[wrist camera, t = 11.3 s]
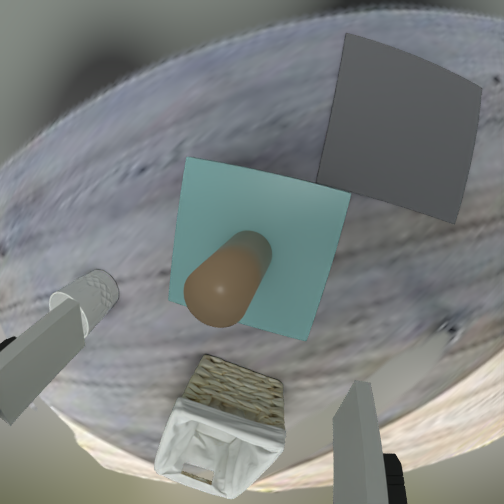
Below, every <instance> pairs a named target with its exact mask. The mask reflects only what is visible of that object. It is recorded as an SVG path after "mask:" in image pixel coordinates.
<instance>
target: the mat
mask: <svg viewBox="0 0 504 504" xmlns="http://www.w3.org/2000/svg"><path fill="white" fill-rule="evenodd" d="M481 95H482V88H481V87H479V86H478V85H476V84H474V83H472V82H470V81H469V80H467V79H465V78H463V77H461V76H459V75H457V74H455V73H453V72H451V71H449V70H447V69H445V68H442V67H440V66H438V65H436V64H434V63H431V62H429V61H427V60H424V59H422V58H420V57H417V56H415V55H412V54H410V53H407V52H405V51H402V50H399V49H396V48H394V47H391V46H388V45H385V44H382V43H379V42H376V41H373V40H369V39H366V38H363V37H359V36H356V35H352V34H349V33H346V36H345V42H344V48H343V53H342V59H341V65H340V70H339V75H338V81H337V86H336V91H335V96H334V101H333V106H332V111H331V116H330V121H329V126H328V130H327V135H326V140H325V144H324V149H323V153H322V158H321V162H320V167H319V171H318V175H317V180H316V183H320V184H324V185H327V186H331V187H335V188H339V189H343V190H346V191H350V192H354V193H357V194H361V195H364V196H368V197H371V198H375V199H378V200H382V201H385V202H388V203H392V204H395V205H398V206H401V207H404V208H408V209H411V210H414V211H417V212H420V213H423V214H426V215H429V216H432V217H435V218H438V219H441V220H443V221H446V222H449V223H452V224H455V222H456V218H457V215H458V212H459V208H460V205H461V201H462V198H463V194H464V190H465V186H466V182H467V178H468V174H469V169H470V165H471V160H472V155H473V150H474V145H475V139H476V133H477V127H478V120H479V113H480V104H481Z"/></svg>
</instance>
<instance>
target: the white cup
mask: <svg viewBox="0 0 504 504" xmlns="http://www.w3.org/2000/svg"><path fill="white" fill-rule="evenodd" d="M118 296H119V290H118V287H117V284H116V282H115V281H114V279H113V278H112V277H111V276H110V275H109V274H108V273H106V272H105V271H103V270H97V269H96V270H94V271H92V272H90V273H88V274H86V275H83V276H81V277H80V278H78V279H76V280H75V281H73V282H71V283H69V284H68V285H66V286H64V287H63V288H61V289H60V290H58V291H56V292H55V293H53V294H52V295H51V297H50V300H49V308H50V311H52V310H53V309H54V308H55V307H57V306H58V305H59V304H61V303H62V302H63V301H65V300H66V299H67V298H70V299H73V300H75V301H77V302H80V310H81V318H82V326H83V333H84V338H86V336H87V335H88V334H89V333H90V332H91V331H92V330H93V329H94V328H95V326H96V325H97V324H98V323H99V322H100V321H101V320H102V319H103V317H104V316H105V315H106V314H107V313H108V312H109V311H110V309H111V308H112V307H113V306H114V305H115V303H116V302H117V300H118Z"/></svg>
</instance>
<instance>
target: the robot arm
mask: <svg viewBox="0 0 504 504" xmlns="http://www.w3.org/2000/svg"><path fill="white" fill-rule="evenodd" d="M84 346H85V339H84V333H83V326H82V318H81V310H80V302H77V301H75V300H73V299H70V298H67V299H66V300H65V301H63V302H62V303H61V304H59V305H58V306H57V307H55V308H54V309H53V310H52V311H50V312H49V313H48V314H46V315H45V316H44V317H43V318H41V319H40V320H39V321H37V322H36V323H35V324H34V325H32V326H31V327H30V328H29V329H27V330H26V331H25V332H24V333H22V334H21V335H20V336H19V337H18V338H16V337H15V336H14V337H11V338H9V339H6V340H4V341H3V342H2V343H1V344H0V418H2V419H3V420H4V421H5V422H6V423H8V424H9V425H10V426H11V425H12V424H13V422H15V420H16V419H17V418H18V417H19V416H20V415H21V414H22V412H23V411H24V410H25V409H26V408H27V407H28V406H29V405H30V404H31V402H32V401H33V400H34V399H35V398H36V397H37V396H38V395H39V394H40V393H41V392H42V390H43V389H44V388H45V387H46V386H47V385H48V384H49V383H50V382H51V381H52V380H53V379H54V378H55V377H56V375H57V374H58V373H59V372H60V371H61V370H62V369H63V368H64V367H65V366H66V365H67V364H68V363H69V362H70V361H71V360H72V359H73V358H74V357H75V356H76V355H77V354H78V353H79V352H80V351H81V349H82V348H83V347H84ZM333 450H334V489H333V504H407V498H406V491H405V486H404V477H403V471H402V465H401V462H400V461H399V459H398V458H397V456H396V454H384V453H383V452H382V445H381V438H380V432H379V426H378V420H377V414H376V409H375V403H374V398H373V393H372V388H371V383H369V382H362V381H356V380H355V381H354V383H353V385H352V387H351V388H350V390H349V392H348V394H347V395H346V397H345V399H344V401H343V402H342V404H341V406H340V407H339V409H338V411H337V412H336V414H335V416H334V417H333Z"/></svg>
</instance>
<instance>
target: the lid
mask: <svg viewBox="0 0 504 504" xmlns="http://www.w3.org/2000/svg"><path fill="white" fill-rule="evenodd" d="M350 197H351V193H350V192H346V191H343V190H339V189H336V188H332V187H328V186H324V185H320V184H316V183H313V182H309V181H305V180H301V179H296V178H292V177H288V176H284V175H279V174H275V173H271V172H266V171H262V170H257V169H252V168H247V167H243V166H238V165H233V164H227V163H222V162H217V161H212V160H206V159H200V158H195V157H186V163H185V169H184V175H183V181H182V188H181V194H180V201H179V208H178V216H177V223H176V231H175V239H174V248H173V256H172V266H171V276H170V287H169V298H168V300H169V301H172V302H175V303H178V304H181V305H184V306H187V307H188V309H189V310H190V312H191V313H192V314H193V315H194V316H195V317H196V318H197V319H198V320H199V321H201V322H202V323H204V324H206V325H209V326H212V327H218V328H223V327H229V326H232V325H234V324H236V323H241V324H244V325H248V326H251V327H255V328H258V329H262V330H265V331H269V332H272V333H276V334H280V335H283V336H287V337H291V338H295V339H299V340H302V341H307V338H308V335H309V332H310V329H311V327H312V324H313V321H314V318H315V315H316V312H317V309H318V306H319V303H320V300H321V297H322V294H323V291H324V288H325V285H326V281H327V278H328V275H329V272H330V269H331V265H332V262H333V259H334V255H335V252H336V248H337V245H338V242H339V238H340V235H341V231H342V227H343V224H344V220H345V216H346V213H347V209H348V205H349V201H350Z"/></svg>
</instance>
